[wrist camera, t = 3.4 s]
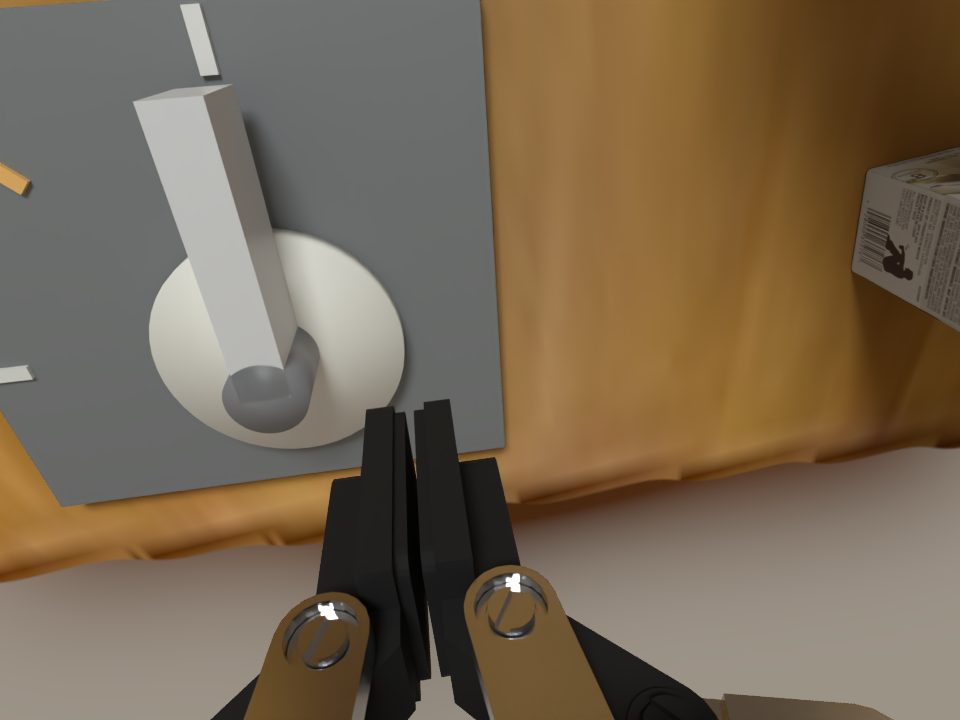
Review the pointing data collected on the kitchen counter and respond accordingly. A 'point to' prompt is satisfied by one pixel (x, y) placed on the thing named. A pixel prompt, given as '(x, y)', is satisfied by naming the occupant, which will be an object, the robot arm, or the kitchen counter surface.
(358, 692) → the robot arm
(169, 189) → the dial
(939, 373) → the kitchen counter surface
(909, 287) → the coffee box
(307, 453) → the dial board
